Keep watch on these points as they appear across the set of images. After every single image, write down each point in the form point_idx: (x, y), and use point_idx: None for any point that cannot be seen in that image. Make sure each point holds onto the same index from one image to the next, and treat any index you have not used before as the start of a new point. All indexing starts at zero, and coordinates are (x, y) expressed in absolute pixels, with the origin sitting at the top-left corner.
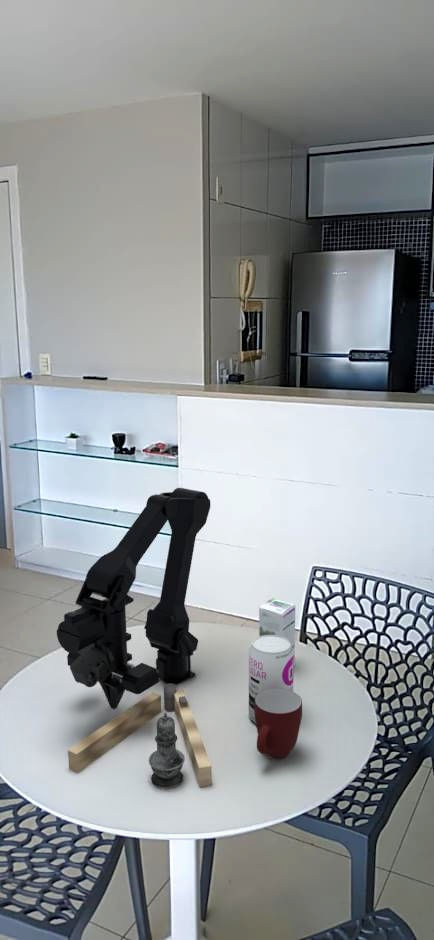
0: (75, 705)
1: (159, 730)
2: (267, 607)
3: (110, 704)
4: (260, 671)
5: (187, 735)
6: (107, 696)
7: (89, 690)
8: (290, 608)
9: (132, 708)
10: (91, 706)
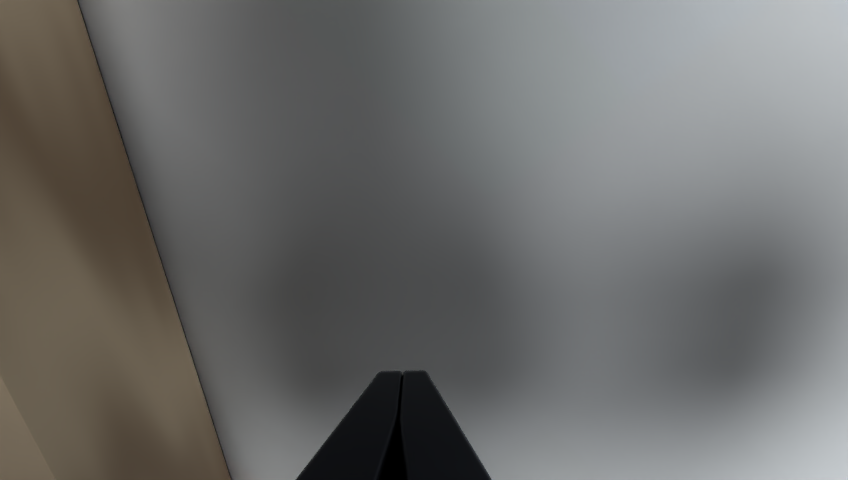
0: (836, 241)
1: None
2: None
3: (410, 396)
4: None
5: None
6: (439, 477)
7: (839, 447)
8: None
9: (11, 473)
10: (678, 314)
